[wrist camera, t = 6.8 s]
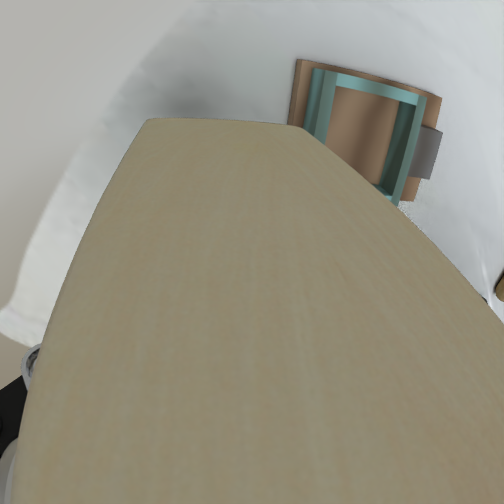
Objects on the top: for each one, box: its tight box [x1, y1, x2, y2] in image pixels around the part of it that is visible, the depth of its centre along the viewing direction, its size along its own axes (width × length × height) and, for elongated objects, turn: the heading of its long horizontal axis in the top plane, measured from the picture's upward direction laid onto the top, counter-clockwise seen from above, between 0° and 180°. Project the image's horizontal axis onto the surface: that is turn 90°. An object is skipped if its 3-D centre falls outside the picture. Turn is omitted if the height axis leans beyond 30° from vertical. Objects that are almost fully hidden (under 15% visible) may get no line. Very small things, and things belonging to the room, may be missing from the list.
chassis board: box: [287, 59, 443, 206], centre depth 31 cm, size 18×14×4 cm
